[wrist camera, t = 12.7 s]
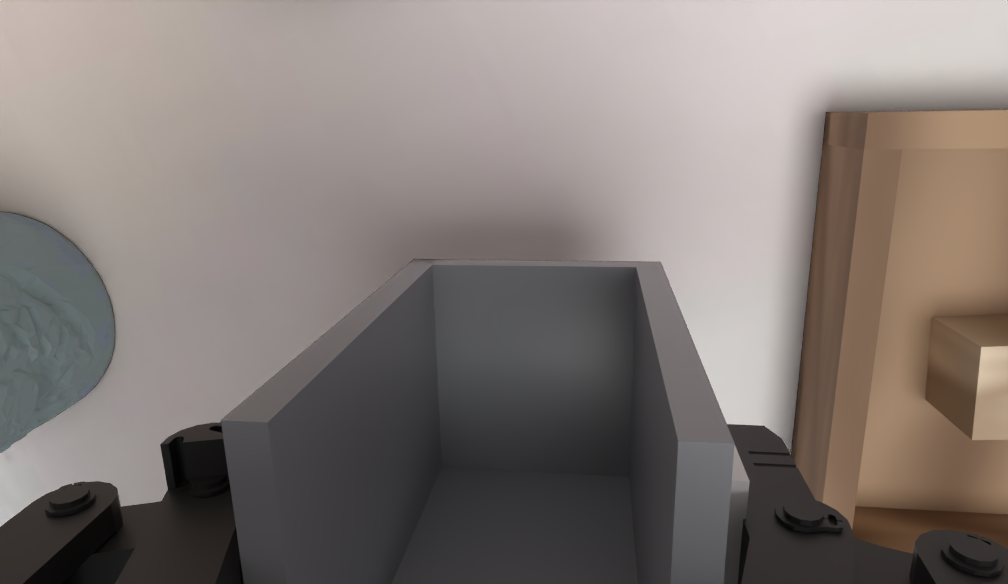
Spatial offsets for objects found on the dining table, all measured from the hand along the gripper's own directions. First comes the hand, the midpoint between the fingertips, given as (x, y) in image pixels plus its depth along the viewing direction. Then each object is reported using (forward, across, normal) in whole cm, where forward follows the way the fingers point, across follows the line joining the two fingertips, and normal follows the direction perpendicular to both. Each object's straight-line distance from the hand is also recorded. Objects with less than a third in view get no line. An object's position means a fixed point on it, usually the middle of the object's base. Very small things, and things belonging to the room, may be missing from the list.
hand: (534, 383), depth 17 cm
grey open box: (0, 0, 0) cm, 0 cm away
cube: (+6, -14, +3) cm, 16 cm away
